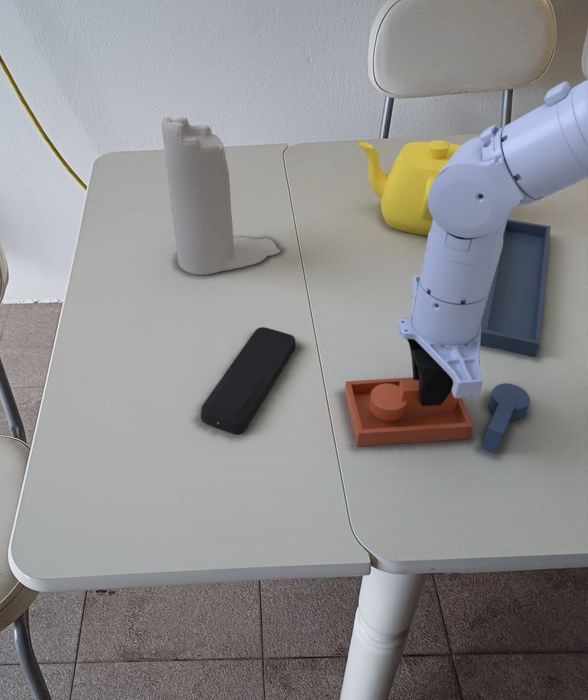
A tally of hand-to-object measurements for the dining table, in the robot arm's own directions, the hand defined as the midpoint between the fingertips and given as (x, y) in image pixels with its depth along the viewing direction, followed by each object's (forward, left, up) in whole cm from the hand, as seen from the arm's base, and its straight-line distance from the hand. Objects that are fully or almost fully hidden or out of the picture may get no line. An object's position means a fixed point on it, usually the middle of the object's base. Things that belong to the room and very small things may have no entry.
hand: (427, 395), depth 63 cm
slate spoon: (-7, -3, -3) cm, 8 cm away
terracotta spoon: (+1, +1, -1) cm, 2 cm away
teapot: (+13, -35, -3) cm, 38 cm away
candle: (+33, -14, -3) cm, 36 cm away
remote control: (+18, +5, -3) cm, 18 cm away
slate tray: (-2, -26, -3) cm, 26 cm away
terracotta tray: (+2, +1, -3) cm, 3 cm away
